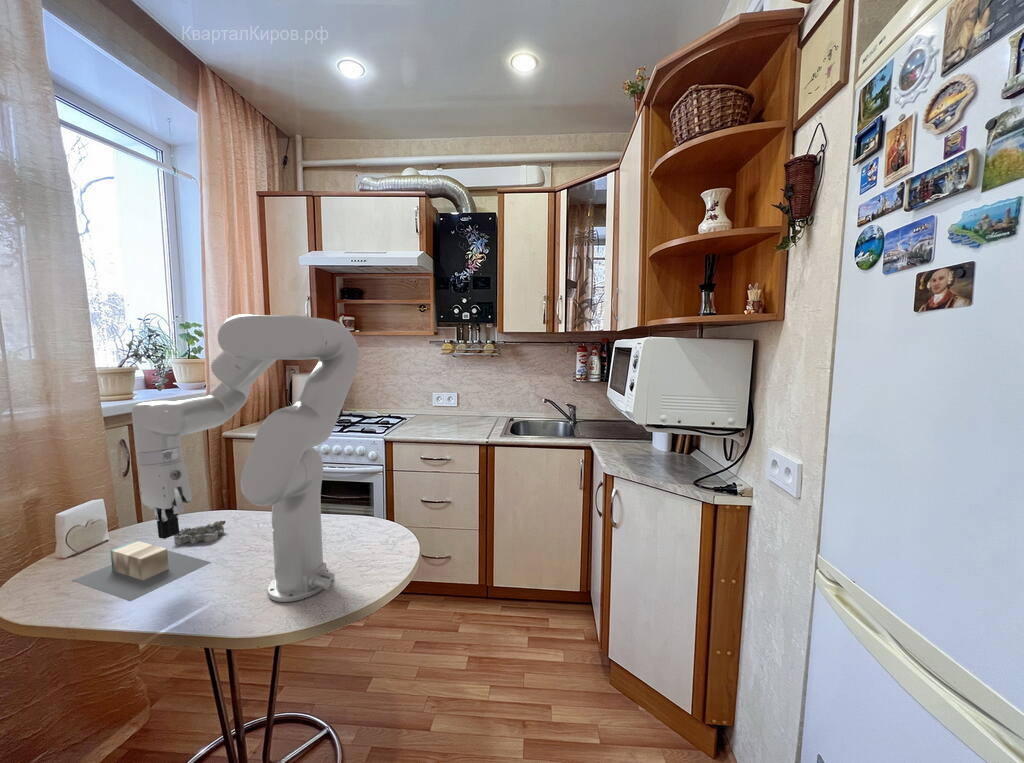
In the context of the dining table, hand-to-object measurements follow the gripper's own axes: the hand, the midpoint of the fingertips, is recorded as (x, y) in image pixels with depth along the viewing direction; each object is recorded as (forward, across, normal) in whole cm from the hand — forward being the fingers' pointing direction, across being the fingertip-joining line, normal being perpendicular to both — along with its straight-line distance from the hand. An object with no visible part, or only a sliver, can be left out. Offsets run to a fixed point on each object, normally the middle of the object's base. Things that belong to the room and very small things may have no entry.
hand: (169, 535), depth 90 cm
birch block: (+8, +6, 0) cm, 9 cm away
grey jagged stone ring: (+11, +16, -15) cm, 25 cm away
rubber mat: (+10, +10, 0) cm, 15 cm away
